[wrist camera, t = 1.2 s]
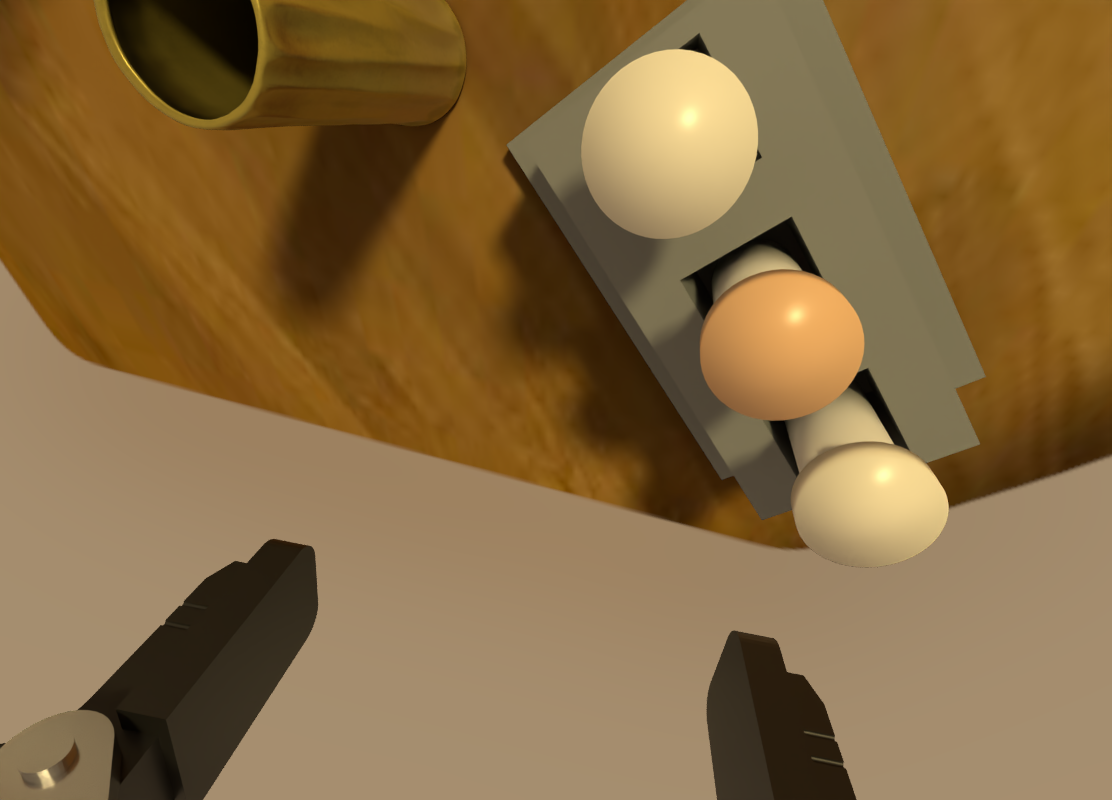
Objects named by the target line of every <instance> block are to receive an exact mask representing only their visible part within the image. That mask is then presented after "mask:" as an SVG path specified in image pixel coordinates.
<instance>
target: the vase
mask: <svg viewBox="0 0 1112 800" xmlns="http://www.w3.org/2000/svg"><path fill="white" fill-rule="evenodd" d="M94 5H95V10H96V14H97V18H98V22H99V26H100V28H101V31H102V34H103V36H104V39H105V41H106V44H107V46H108V48H109V51H110V53H111V55H112V57H113V59H114V60H115V62H116V63H117V65H118V67H119V68H120V69H121V71H122V72H123V74H124V75H125V76H126V78H127V79H128V80H129V81H130V83H131V84H132V85H133V86H134V87H135V88H136V90H137V91H138V92H139V93H140V94H141V95H142V96H143V97H144V98H145V99H146V100H147V101H148V102H149V103H151V104H152V105H153V106H154V107H155V108H157V109H158V110H160V111H161V112H162V113H164V114H165V115H167V116H169V117H170V118H172V119H174V120H175V121H177V122H179V123H181V124H184V125H186V126H190V127H194V128H199V129H206V130H240V129H253V128H266V127H283V126H334V125H352V124H359V125H369V124H400V125H403V126H421V125H426V124H430V123H432V122H434V121H436V120H438V119H439V118H441V117H442V116H443V115H445V114H446V113H447V112H448V111H449V110H450V109H451V107H452V106H453V105H454V104H455V102H456V101H457V99H458V97H459V94H460V92H461V89H462V86H463V82H464V78H465V74H466V65H467V60H466V48H465V41H464V36H463V33H462V30H461V27H460V25H459V23H458V21H457V19H456V17H455V15H454V13H453V11H452V10H451V8H450V6H449V5H448V4H447V3H446V1H445V0H94Z"/></svg>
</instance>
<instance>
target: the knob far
mask: <svg viewBox="0 0 1112 800" xmlns="http://www.w3.org/2000/svg"><path fill="white" fill-rule="evenodd" d="M784 421H785V425H786V428H787V432H788V435H789V439H790V442H791V446H792V449H793V452H794V456H795V459H796V463H797V466H798V470H799V475H798V476H797V478H796V480H795V482H794V485H793V487H792V492H791V507H792V511H793V515H794V519H795V523H796V527H797V530H798V532H799V534H800V536H801V538H802V539H803V541H804V542H805V544H806V545H807V546H808V547H809V548H810V549H812V550H813V551H814V552H815V553H817V554H819V555H820V556H822V557H823V558H825V559H828V560H830V561H832V562H835V563H839V564H842V565H846V566H852V567H865V568H869V567H881V566H887V565H892V564H896V563H899V562H901V561H905V560H907V559H909V558H911V557H914V556H915V555H917V554H919V553H921V552H922V551H923V550H925V549H926V548H927V547H929V546H930V545H931V544H932V543H933V542H934V541H935V540H936V539H937V538H938V536H939V535H940V534H941V532H942V530H943V529H944V527H945V524H946V522H947V517H948V513H949V505H948V499H947V496H946V493H945V491H944V489H943V488H942V486H941V484H940V483H939V481H938V480H937V478H936V476H935V475H934V473H933V472H932V470H931V469H930V467H929V466H928V465H927V464H926V463H925V461H924V460H922V459H921V458H920V457H919V456H918V455H916V454H914V453H913V452H911V451H909V450H907V449H905V448H903V447H900V446H897V445H894V443H893V442H892V440H891V438H890V437H889V435H888V433H887V431H886V430H885V428H884V426H883V425H882V423H881V421H880V420H879V418H878V416H877V414H876V413H875V411H874V409H873V408H872V406H871V404H870V402H869V401H868V399H867V397H866V396H865V394H864V392H863V390H862V389H861V387H860V386H859V385H858V384H857V382H855V381H854V380H853V381H852V382H851V384H850V385H849V386H848V387H847V389H846V390H845V391H844V392H843V393H842V394H841V395H840V396H839V397H838V398H836V399H835V400H834V401H833V402H831V403H830V404H828V405H827V406H825V407H823V408H822V409H820V410H818V411H816V412H814V413H811V414H808V415H806V416H803V417H799V418H795V419H789V420H784Z"/></svg>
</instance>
